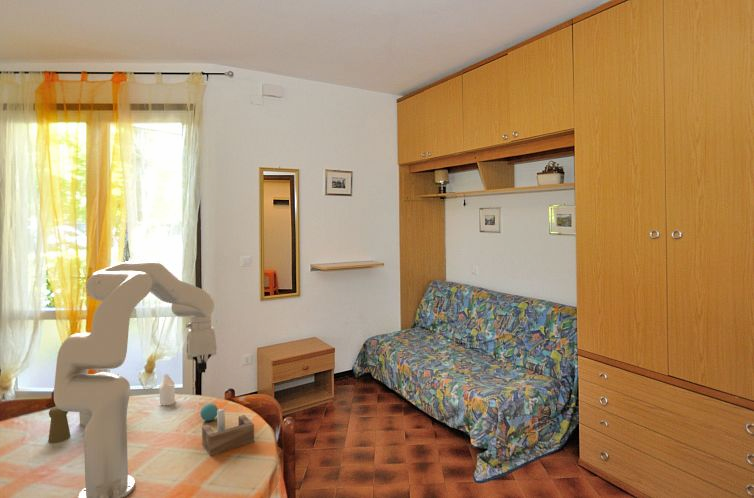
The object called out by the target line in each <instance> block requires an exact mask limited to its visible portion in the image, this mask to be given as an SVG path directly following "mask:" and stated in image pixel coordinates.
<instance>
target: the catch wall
mask: <svg viewBox="0 0 754 498" xmlns="http://www.w3.org/2000/svg"><path fill="white" fill-rule="evenodd" d="M201 440H202V441H201V443H202V446H203V448H204V450H206V452H207V453H208V456H210V457H211V456H215V455H218V454H222V453H225V452H227V450H228V451H230V449H231V450H234V449H236V447H237V448H239V446H240V447H243V446H246V445H248V444H247V443H250V444H252V443H251V442H253V443H254V442H255V424H254V423H253V422H252V421H251V420H250V419H249V418H248V417H247V416H246V414H242V415H239V416H238V425H236V426H233V427H229V428H225V430H222V431H219V432H217V431H216V432H215V431H214V429H212V428H211V426H210V425H209V424H206V425H202V426H201ZM245 444H246V445H245ZM242 445H243V446H242ZM233 448H234V449H233Z"/></svg>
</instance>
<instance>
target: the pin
mask: <svg viewBox="0 0 754 498" xmlns="http://www.w3.org/2000/svg"><path fill="white" fill-rule="evenodd" d="M225 412H226V411H225V409H224V408H219V409H218V410H217V416H216V421H217V422H216V425H217V427H216V428H217V429H216V430H217V431H216V432H219V431H222V430H226V425H225V423H226V419H225V418H226V416H225V415H226V414H225Z"/></svg>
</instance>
